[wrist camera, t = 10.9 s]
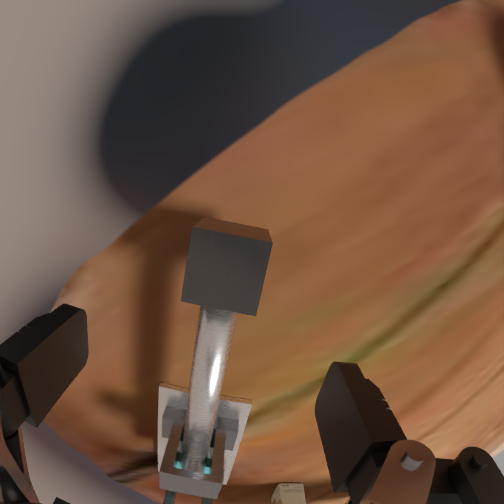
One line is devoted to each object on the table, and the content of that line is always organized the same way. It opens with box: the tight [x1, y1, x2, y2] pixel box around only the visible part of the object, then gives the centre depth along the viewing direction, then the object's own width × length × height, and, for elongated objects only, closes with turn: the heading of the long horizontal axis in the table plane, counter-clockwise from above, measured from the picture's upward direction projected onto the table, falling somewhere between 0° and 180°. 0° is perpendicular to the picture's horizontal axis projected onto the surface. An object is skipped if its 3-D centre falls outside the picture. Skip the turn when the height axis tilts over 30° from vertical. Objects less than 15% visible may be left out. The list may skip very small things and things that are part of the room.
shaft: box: [181, 217, 273, 473], centre depth 24 cm, size 28×5×5 cm, turn 168°
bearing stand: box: [158, 382, 252, 504], centre depth 29 cm, size 11×20×11 cm, turn 168°
